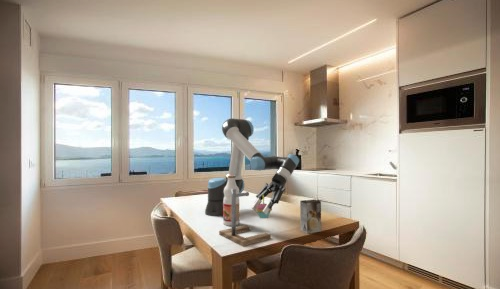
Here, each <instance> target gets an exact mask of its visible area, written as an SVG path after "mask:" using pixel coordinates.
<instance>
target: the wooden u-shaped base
mask: <svg viewBox="0 0 500 289" xmlns="http://www.w3.org/2000/svg"><path fill="white" fill-rule="evenodd" d="M248 231H249V232H250V231H251V226H249V225H248V224H244V225H240V226H236V235H235V236H232V227H230V228H227V229H226V228H225V229H221V230H219V231H218V235H219V236H221V237H223V238H225V239H227V240H229V241H231V242H233V243H235V244H236V245H239V246H240V247H244V246H248V244H249V245H251V244H255V243H260V242H263V241H267V240H270V239H272V238H271V236H272V235H271V233H268V232H263V233H258V234H255V235H251V236H247V237H246V236H245V237H244V236H241V235H240V233H244V232H248Z"/></svg>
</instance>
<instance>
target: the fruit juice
mask: <svg viewBox="0 0 500 289" xmlns="http://www.w3.org/2000/svg"><path fill="white" fill-rule="evenodd" d="M227 178H228V182H227V185H226V186H225V188H224V199H223V215H222V219H223V222H222V224H223V225H225V226H229V227H230V226H231V227H232V189H236V194H237V193H239V188H238V187H237V185H236V182H235V178H236V176H235V175H228V176H227ZM239 224H240V197H236V226H238V225H239Z"/></svg>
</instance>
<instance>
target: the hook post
mask: <svg viewBox="0 0 500 289" xmlns="http://www.w3.org/2000/svg"><path fill="white" fill-rule="evenodd" d="M249 196H250V193H249V191H245V192H242V193H237V194H236V189H232V226H231V228H232V236H235V235H236V234H237V233H236V227H237V225H236V197H239V198H240V197H249Z"/></svg>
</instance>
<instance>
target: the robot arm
mask: <svg viewBox="0 0 500 289" xmlns="http://www.w3.org/2000/svg"><path fill="white" fill-rule="evenodd" d="M254 130H255V129H254V125H253V123H252V121H250V120H248V119H243V118H242V119H241V118H227V119H226V120H224V122H223V124H222V126H221V131H222V134H223V135H224V137H225V138H226V139H227V140H229V141H231V142H232V149H231V154H230V162H229V167H228V168H229V169H228V173H227V174H225V177H214V178H210V179H209V180H208V181H207V204H206V207H205V209H204V210H205V211H204V214H205V215H207V216H212V217H213V216H214V217H217V216H223V199H224V188H225V186H226V185H227V182H228V178H227V176H228V175H235V176H236V178H235V182H236V185H237V187H238V188H239V193H243V191H244V189H245V183H244V182H245V181H244V179H243V177H242V175H241V174H242V168H243V162H244V157H245V158H247V159H248V160H249V165H250V167H251V169H252V170H253V171H266V170H268V171H269V170H276V172H275V174H274V175H273V177H272V178H271V182H270V183H267V182H265V184H264V185H263V187H262V188H261V189H260V191H258V193H257V194H256V195H255V197H256V200H255V202H254V203H253V205H252V207H251V209H252V210H253V211H254V212H257V211H256V206H257V205H259V204H262V203H263V195H264V199H265V198H266V197H267V196H268V195H269V194H272V195H271V198H270V200H268V202H267V203H266V204H267V205H266V207H265V208H264V210H263V212H264V213H265V214H266V215H267V213H268V211H269V210H270V209H271V208H272V209H273V206H274V205H276V204H279V202H280V200H281V198H282V196H283V193H284V192H285V191H286V187H285V185H286V183H287V182H288V180H289V179H290V177H291V176H292V174H293V173H294V171H295V169H296V168H297V166H298V165H299V163H300V159H299V156H297V155H296V154H295V153H294V154H293V153H289V154H288V155H286V156H285V157H284V156H277V155H269V156H264V155H263V154H262V153H261V152H260V151H259V150H258V149H257V148H256V147H255V146H254V145H253V144H252V143H251V142H250V141H249V139H250V137H252V136H253V134H254Z"/></svg>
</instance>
